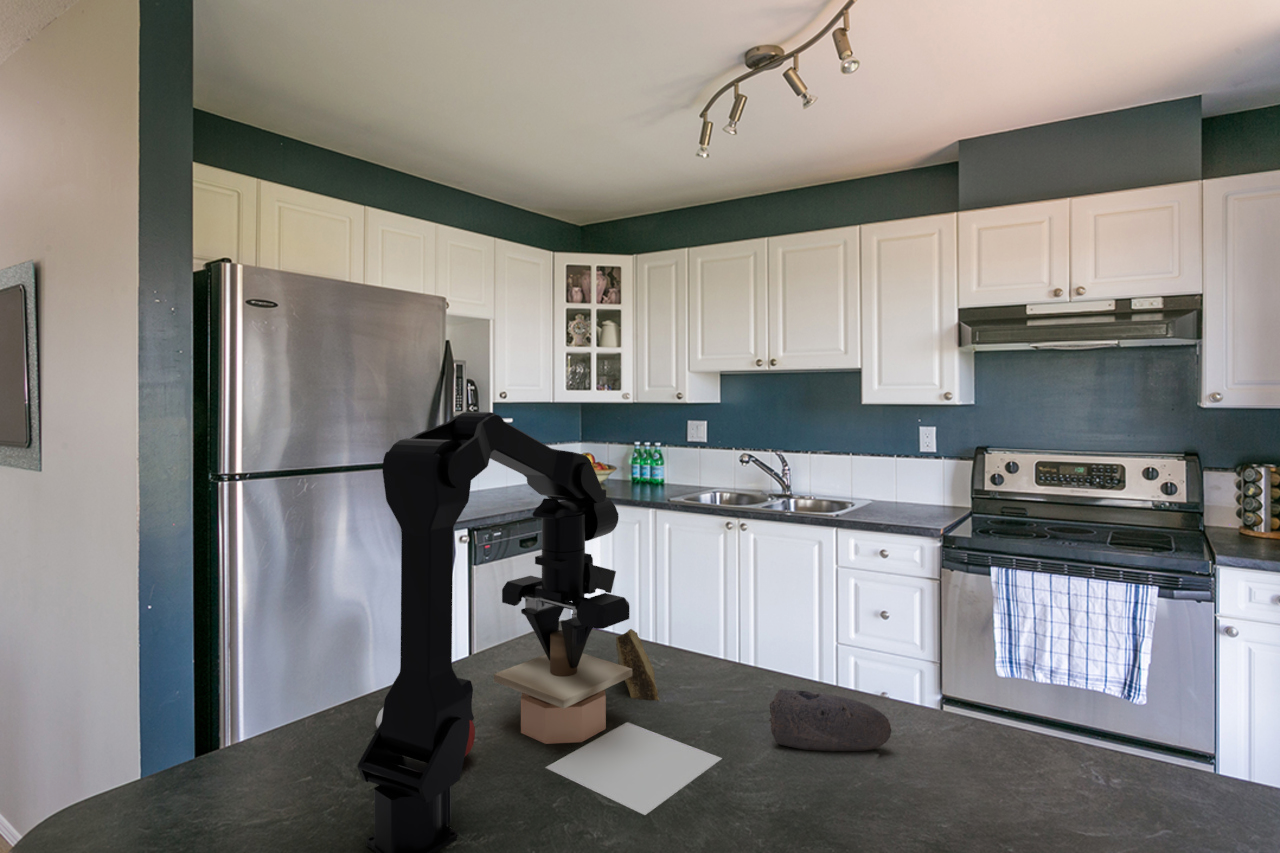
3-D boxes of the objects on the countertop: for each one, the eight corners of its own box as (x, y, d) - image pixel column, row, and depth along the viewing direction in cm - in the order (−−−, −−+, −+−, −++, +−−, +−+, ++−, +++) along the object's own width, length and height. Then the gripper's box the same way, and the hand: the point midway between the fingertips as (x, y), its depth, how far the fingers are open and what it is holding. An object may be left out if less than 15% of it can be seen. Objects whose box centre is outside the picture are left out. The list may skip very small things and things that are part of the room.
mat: (644, 819, 74) (644, 814, 74) (545, 771, 83) (545, 767, 83) (722, 762, 85) (722, 758, 85) (627, 725, 95) (627, 722, 95)
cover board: (563, 708, 85) (563, 659, 85) (493, 681, 93) (493, 636, 93) (632, 676, 95) (632, 632, 95) (563, 654, 103) (563, 613, 103)
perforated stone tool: (887, 744, 90) (888, 690, 90) (895, 765, 85) (896, 708, 85) (768, 734, 93) (768, 682, 92) (768, 754, 87) (769, 698, 87)
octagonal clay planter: (563, 755, 87) (563, 715, 86) (504, 729, 94) (504, 691, 93) (621, 723, 95) (621, 687, 95) (563, 701, 102) (563, 667, 102)
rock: (605, 657, 113) (587, 672, 104) (638, 616, 113) (623, 627, 103) (657, 705, 111) (643, 724, 101) (690, 663, 110) (680, 679, 101)
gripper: (656, 547, 94) (655, 663, 94) (557, 530, 106) (557, 633, 106) (600, 562, 85) (599, 689, 86) (499, 542, 97) (499, 654, 98)
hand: (563, 664), depth 94 cm, fingers closed on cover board, 4 cm apart
